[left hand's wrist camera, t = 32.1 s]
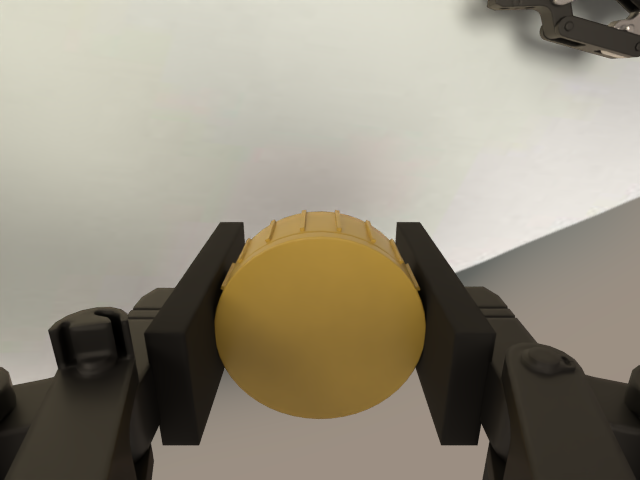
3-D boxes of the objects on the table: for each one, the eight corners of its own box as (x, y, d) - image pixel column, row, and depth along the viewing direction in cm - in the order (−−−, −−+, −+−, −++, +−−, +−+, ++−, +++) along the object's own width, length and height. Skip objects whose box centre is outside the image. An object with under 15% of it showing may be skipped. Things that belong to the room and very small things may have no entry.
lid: (258, 387, 13) (247, 438, 11) (201, 232, 11) (178, 263, 10) (425, 353, 13) (443, 400, 11) (393, 187, 11) (408, 209, 9)
